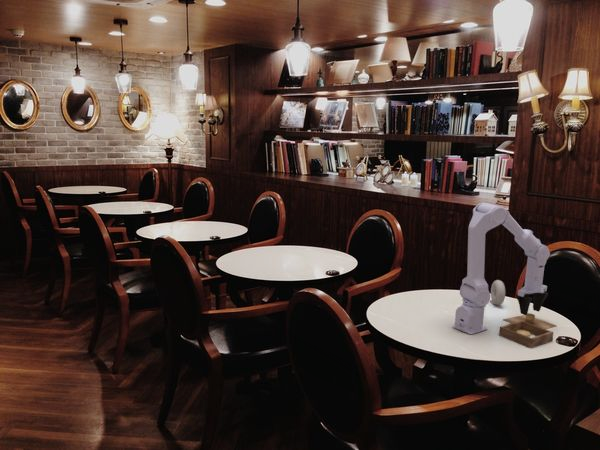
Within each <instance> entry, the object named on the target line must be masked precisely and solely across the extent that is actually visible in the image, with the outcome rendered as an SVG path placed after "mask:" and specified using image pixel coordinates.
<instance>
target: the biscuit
mask: <svg viewBox="0 0 600 450" xmlns="http://www.w3.org/2000/svg"><path fill="white" fill-rule="evenodd" d="M516 332H517V333H520V334H522V335H525V336H527V337H531V334H530V332H528V331H525V330H517V331H516Z"/></svg>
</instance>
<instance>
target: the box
mask: <svg viewBox="0 0 600 450" xmlns="http://www.w3.org/2000/svg"><path fill="white" fill-rule="evenodd" d="M517 330H525V331H528V332H530V335H533V337H531V336H529V337H527V336H525V335H522V334H520V333H517ZM498 336H500V337H502V338H505V339H507V340H510V341H512V342H514V343H517V344H520V345H522V346H525V347H527V348H530V349H532V348H534V347H538V346H541V345H544V344H547V343H550V342H552V341H553V340H554V339H553V337H554V332H553V331H551V330H548V329H543V328H540V327H538V326H535V325H532V324H529V323H526V322H524V321H519V322H515V323H512V324H511V323H508V324H505V325H502V326H500V327H499V331H498Z"/></svg>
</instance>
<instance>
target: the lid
mask: <svg viewBox="0 0 600 450" xmlns="http://www.w3.org/2000/svg"><path fill="white" fill-rule="evenodd" d="M502 321H504V322H506V323H508V324H512V323H515V322H519V321H524V322H526V323H529V324H532V325H535V326H538V327H540V328H543V329H546V330H548V329H551V328H556V327H557V325H556V324H553V323H550V322H547V321H545V320H543V319H539V318H537V317H536V314H534V313H529V312H528V313H527V315H524V314H521V315H518V316H516V315H515V316H514V317H508V318H503V319H502Z"/></svg>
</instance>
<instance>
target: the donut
mask: <svg viewBox="0 0 600 450" xmlns="http://www.w3.org/2000/svg"><path fill="white" fill-rule="evenodd" d="M490 287H491V288H490V300H491V301H492V303H493V304H494V305H496V306H501V305H502V304H503V303H504V301H505V298H506V286H505V283H504V282H503V281H502V280H500V279H496V280H494V281H493V282H492V284H491V286H490Z"/></svg>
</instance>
